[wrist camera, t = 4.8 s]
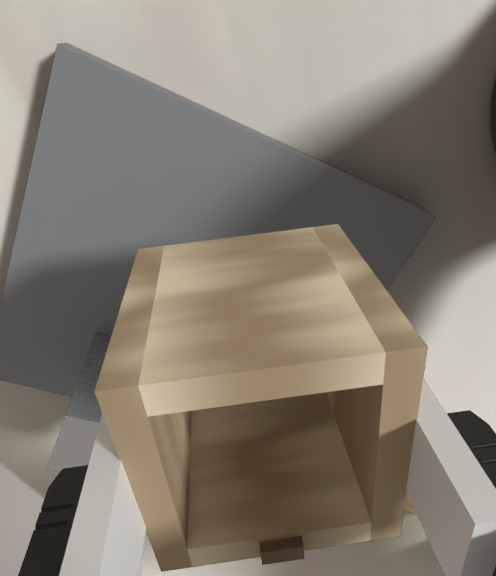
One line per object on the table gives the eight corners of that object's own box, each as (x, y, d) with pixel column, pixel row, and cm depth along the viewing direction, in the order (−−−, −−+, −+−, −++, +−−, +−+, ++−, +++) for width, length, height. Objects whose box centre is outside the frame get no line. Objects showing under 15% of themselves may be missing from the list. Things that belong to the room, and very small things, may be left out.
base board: (422, 208, 25) (435, 217, 24) (277, 429, 33) (280, 445, 32) (66, 43, 19) (57, 43, 18) (-6, 360, 27) (-16, 376, 26)
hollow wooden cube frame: (337, 224, 15) (434, 355, 9) (336, 375, 19) (404, 546, 12) (138, 248, 15) (91, 402, 9) (174, 397, 18) (160, 582, 12)
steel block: (160, 334, 27) (147, 433, 21) (141, 377, 29) (124, 483, 22) (99, 316, 26) (65, 415, 19) (83, 362, 28) (47, 469, 21)
